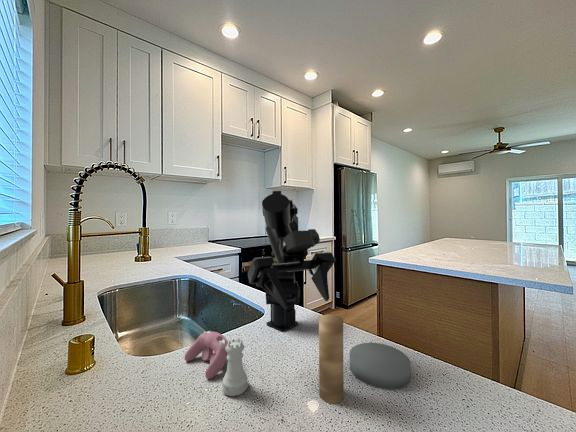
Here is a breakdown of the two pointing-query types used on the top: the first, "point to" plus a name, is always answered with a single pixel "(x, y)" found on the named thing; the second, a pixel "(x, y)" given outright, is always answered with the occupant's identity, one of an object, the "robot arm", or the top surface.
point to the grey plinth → (380, 365)
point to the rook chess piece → (234, 370)
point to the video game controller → (209, 351)
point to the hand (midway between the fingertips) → (307, 303)
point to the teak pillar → (331, 359)
